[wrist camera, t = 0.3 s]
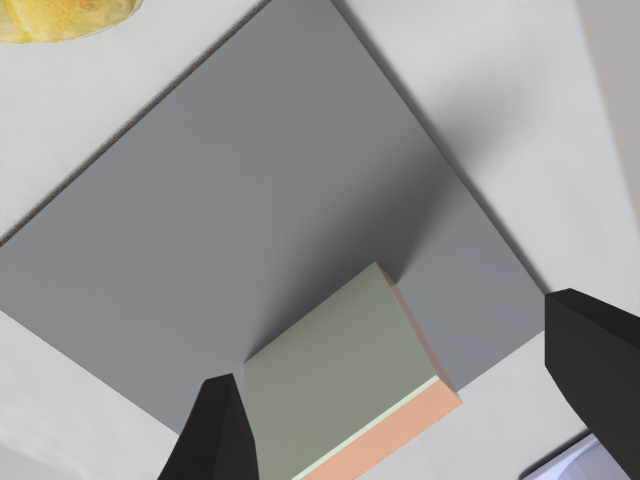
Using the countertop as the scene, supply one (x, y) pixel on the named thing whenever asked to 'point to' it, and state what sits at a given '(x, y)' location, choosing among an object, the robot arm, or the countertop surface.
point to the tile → (344, 385)
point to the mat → (262, 223)
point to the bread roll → (60, 18)
